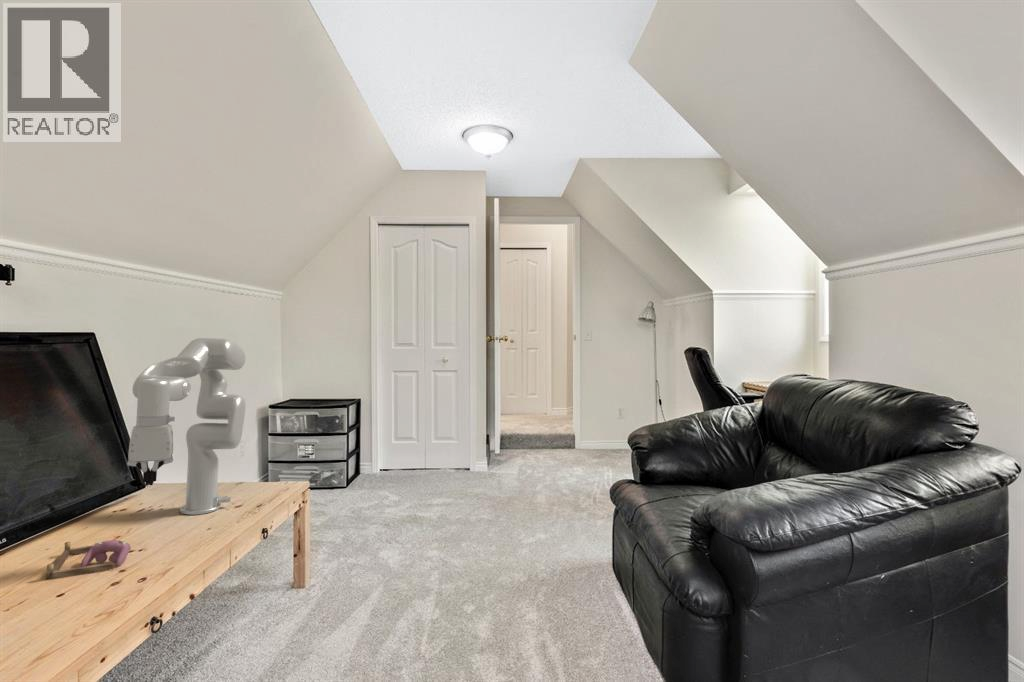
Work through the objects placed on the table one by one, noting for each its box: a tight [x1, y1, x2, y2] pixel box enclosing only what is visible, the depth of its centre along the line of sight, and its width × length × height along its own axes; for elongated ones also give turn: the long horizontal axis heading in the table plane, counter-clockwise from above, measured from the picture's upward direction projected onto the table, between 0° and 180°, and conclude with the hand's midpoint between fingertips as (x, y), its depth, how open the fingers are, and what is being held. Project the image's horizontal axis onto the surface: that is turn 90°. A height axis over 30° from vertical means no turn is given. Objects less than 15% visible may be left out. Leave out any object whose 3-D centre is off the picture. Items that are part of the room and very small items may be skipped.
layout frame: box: [45, 541, 114, 581], centre depth 132 cm, size 13×16×4 cm
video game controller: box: [80, 539, 132, 567], centre depth 132 cm, size 10×5×7 cm, turn 101°
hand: (149, 484), depth 139 cm, fingers closed
